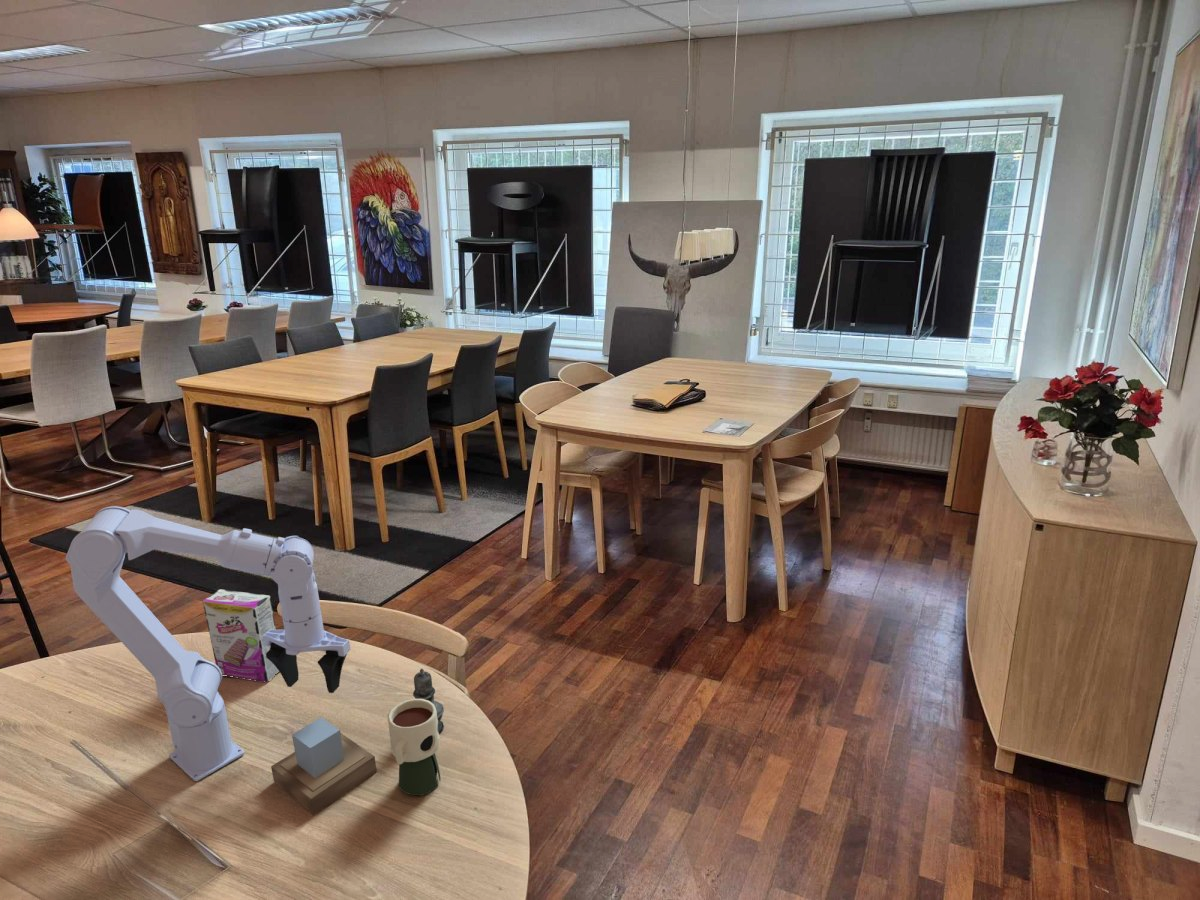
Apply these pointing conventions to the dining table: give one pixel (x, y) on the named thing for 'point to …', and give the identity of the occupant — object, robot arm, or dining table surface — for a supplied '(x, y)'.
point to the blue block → (318, 747)
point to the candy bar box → (240, 633)
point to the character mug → (415, 744)
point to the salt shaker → (427, 694)
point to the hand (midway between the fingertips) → (313, 686)
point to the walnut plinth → (324, 777)
